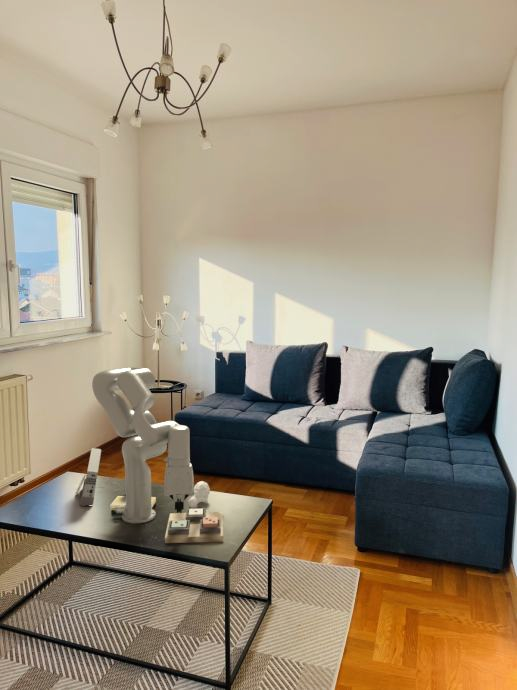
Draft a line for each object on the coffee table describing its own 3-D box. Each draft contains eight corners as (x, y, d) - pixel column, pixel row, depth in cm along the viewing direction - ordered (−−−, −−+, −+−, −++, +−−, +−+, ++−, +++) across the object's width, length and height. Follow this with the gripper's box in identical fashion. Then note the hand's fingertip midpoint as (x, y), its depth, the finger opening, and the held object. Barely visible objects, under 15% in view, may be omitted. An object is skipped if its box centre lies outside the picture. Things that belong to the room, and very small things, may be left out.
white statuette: (210, 480, 219) (196, 493, 208) (211, 499, 221) (198, 513, 210) (197, 478, 221) (182, 491, 210) (198, 497, 223) (183, 511, 212)
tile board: (164, 543, 183) (164, 532, 183) (170, 518, 203) (169, 508, 203) (223, 541, 185) (223, 530, 184) (222, 516, 205) (222, 506, 204)
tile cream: (188, 519, 196) (188, 514, 196) (189, 513, 202) (189, 508, 201) (202, 519, 197) (202, 513, 197) (203, 513, 202) (203, 508, 202)
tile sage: (171, 532, 186) (171, 526, 186) (172, 526, 191) (172, 520, 191) (186, 532, 186) (186, 526, 186) (187, 525, 192) (186, 519, 191)
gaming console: (76, 489, 232) (85, 444, 231) (94, 491, 234) (102, 447, 233) (71, 510, 210) (81, 461, 209) (91, 512, 212) (100, 463, 211)
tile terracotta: (202, 529, 187) (202, 523, 187) (203, 522, 192) (203, 517, 192) (217, 528, 187) (217, 522, 187) (217, 522, 192) (217, 516, 192)
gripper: (156, 464, 182) (156, 516, 184) (200, 464, 183) (200, 515, 185) (158, 457, 189) (159, 507, 191) (200, 457, 191) (200, 506, 193)
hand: (179, 511), depth 188 cm, fingers closed
